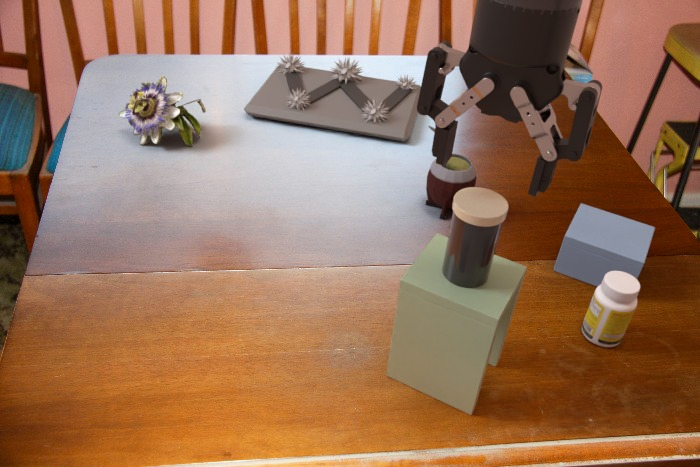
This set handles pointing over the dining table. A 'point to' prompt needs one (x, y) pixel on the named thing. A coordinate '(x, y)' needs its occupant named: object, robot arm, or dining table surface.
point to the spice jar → (473, 236)
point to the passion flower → (159, 113)
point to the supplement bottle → (611, 309)
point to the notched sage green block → (451, 327)
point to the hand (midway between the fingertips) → (488, 176)
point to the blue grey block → (602, 245)
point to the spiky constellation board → (338, 100)
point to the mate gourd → (448, 181)
